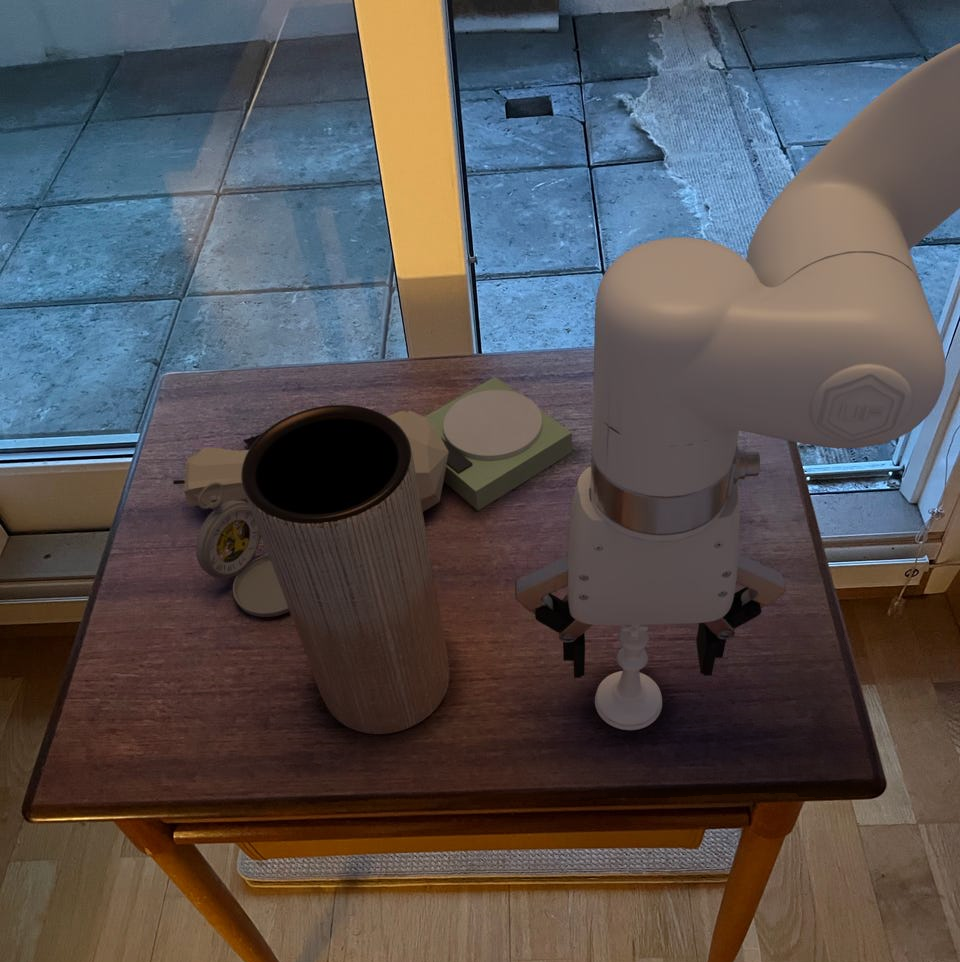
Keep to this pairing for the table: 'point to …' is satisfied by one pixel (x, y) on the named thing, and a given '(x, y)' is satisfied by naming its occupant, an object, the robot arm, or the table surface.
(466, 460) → the scale
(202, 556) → the pocket watch
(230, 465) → the faceted club
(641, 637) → the chess piece
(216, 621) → the table surface
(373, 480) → the planter
